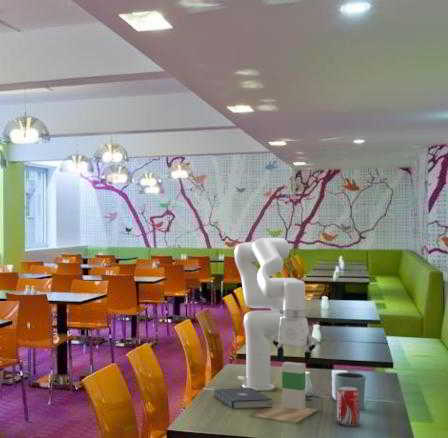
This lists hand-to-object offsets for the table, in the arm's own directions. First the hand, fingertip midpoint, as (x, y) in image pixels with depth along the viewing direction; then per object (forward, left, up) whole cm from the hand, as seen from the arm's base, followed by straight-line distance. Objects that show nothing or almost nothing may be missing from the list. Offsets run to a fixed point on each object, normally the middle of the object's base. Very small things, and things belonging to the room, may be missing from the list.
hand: (293, 361), depth 282 cm
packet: (0, -3, -9) cm, 9 cm away
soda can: (+22, -11, -17) cm, 30 cm away
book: (-19, -3, -17) cm, 26 cm away
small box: (+9, +25, -17) cm, 32 cm away
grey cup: (+16, +13, -17) cm, 27 cm away
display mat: (0, -10, -17) cm, 20 cm away
